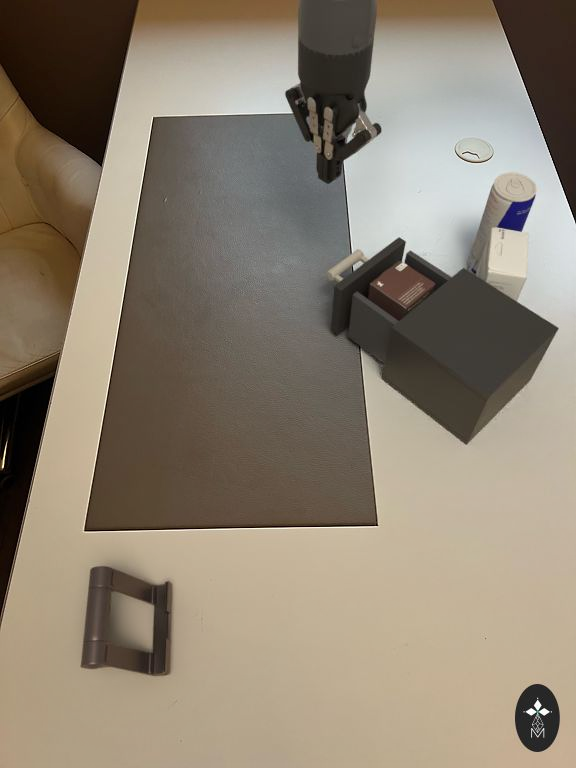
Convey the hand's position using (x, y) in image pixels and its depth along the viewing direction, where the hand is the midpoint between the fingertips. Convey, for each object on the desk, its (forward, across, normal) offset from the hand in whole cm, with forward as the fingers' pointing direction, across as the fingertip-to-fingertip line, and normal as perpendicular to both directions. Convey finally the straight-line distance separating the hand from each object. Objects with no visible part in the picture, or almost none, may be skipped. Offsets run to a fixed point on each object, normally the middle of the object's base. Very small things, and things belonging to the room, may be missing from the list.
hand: (328, 178), depth 76 cm
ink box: (+18, -20, -12) cm, 30 cm away
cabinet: (+18, -24, 0) cm, 30 cm away
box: (+16, -13, 0) cm, 21 cm away
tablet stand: (+18, -20, +49) cm, 56 cm away
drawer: (+17, -12, 0) cm, 21 cm away
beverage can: (+18, -15, -19) cm, 30 cm away
